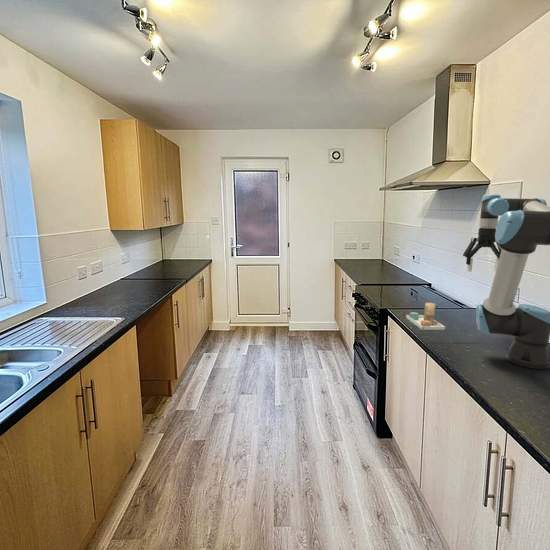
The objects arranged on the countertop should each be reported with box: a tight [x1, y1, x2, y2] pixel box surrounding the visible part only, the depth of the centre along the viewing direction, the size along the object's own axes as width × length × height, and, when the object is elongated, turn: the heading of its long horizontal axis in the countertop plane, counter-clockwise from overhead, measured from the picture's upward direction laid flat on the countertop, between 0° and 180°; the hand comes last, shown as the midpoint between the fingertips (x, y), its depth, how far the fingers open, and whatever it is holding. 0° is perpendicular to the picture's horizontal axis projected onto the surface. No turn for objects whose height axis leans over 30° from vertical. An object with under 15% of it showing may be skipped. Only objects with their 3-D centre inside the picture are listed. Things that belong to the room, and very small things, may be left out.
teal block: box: [409, 311, 420, 320], centre depth 204 cm, size 4×4×4 cm
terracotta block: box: [421, 320, 431, 326], centre depth 189 cm, size 4×4×4 cm
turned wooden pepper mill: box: [423, 301, 436, 325], centre depth 196 cm, size 5×5×11 cm
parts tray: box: [405, 314, 446, 331], centre depth 197 cm, size 21×12×2 cm, turn 3°
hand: (482, 271), depth 179 cm, fingers open, 13 cm apart
